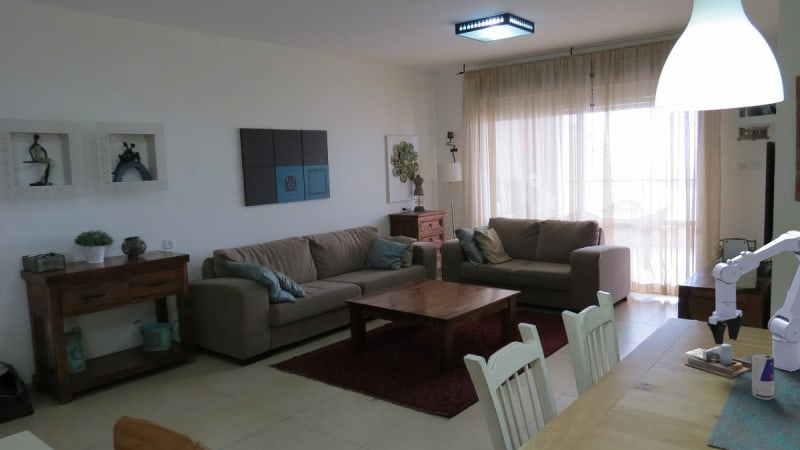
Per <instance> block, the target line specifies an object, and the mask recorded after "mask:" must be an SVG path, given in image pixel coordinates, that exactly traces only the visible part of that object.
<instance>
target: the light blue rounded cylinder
mask: <svg viewBox="0 0 800 450" xmlns="http://www.w3.org/2000/svg"><path fill="white" fill-rule="evenodd" d="M718 345H719V344H718ZM732 357H733V345H732V344H730V343H723V344H722V345H719V364H721V365H725V366H728V367H729V366H732Z"/></svg>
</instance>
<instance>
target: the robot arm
mask: <svg viewBox="0 0 800 450" xmlns="http://www.w3.org/2000/svg"><path fill="white" fill-rule="evenodd" d="M782 252H792V253H793V254H794V255H795V257H796V258H797V259H798V262H800V231H799V230H795V229H794V230H793V229H792V230H789V231H787V232H786V233H782V234H780V236H779V237H777V238H776V239H774V240H773V241H771V242H769V243H767V244H765V245H764V246H762V247H760V248H758V249H757V250H755V251H753V252H752V251H748V250H747V251H741V252H740V253H739V255H737V256H735V257H733V258H732V259H727V260H726V262H719V263H717V264H716V265H715V266H714V267H713V268H712V271H711V275H712V277H713V278H714V280H715V311H712V316H709V317H708V321H706V322H707V323H706V324H707V326H708V327H709V329H710V331H711V335H712V336H713V337H712V338H713V341H714V344H715V345H722V344H724V338H725V337H724V336H725V331H726V329H727V334H728V339H729V340H733V341H737V338H738V336H739V332H740V329H741V327H742V325H743V324H744V322H745V318H744V317H743V311H742V310H739V309H737V283H736V282H738V281H739V279H740V277H741V276H743V275H745V274H747V273H749V272H751V271H753V270H755V269H757V268H759V266H760V263H761V262H763V261H764V260H766V259H767V260H768V259H769V258H771V257H773V256H775V255H778V254H781V253H782ZM723 322H725V323H726V324H723ZM767 329H768V330H769V331H770V333H771V336H772V348H771V349H772V353H771V354H772V356H773V358H774V368H776V369H779V370H784V371H787V372H792V371H793V372H795V371H797V370H800V263H799V265H798V268H797V270H796V273H795V275H794V277H793V279H792V283H791V286H790V288H789V290H788V293H787V295H786V299H785V301H784V303H783V305H782V307H781V308H780V309H778V310H776V311H775V313H774V314H773V316H772V317H771V318H770V319H769V320H768V323H767Z"/></svg>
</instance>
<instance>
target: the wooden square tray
mask: <svg viewBox="0 0 800 450" xmlns="http://www.w3.org/2000/svg"><path fill="white" fill-rule="evenodd" d="M684 364H685V366H687V367H690V368H694V369H696V370H697V369H698V370H701V371H704V372H708V373H711V374H714V375H716V376H717V375H718V376H721V377H724V378H728V379H730V378H734V377H737V376H738V375H742V374H745V373H746V372H749V371H752V361H747V360H744V359H740V358H736V357H733V356H732V366H729V367H728V366H725V365H721V364H719V357H716V358H713V359H710V360H707V361H705V360H702V359H698V358H695V357H691V356H688V358H687V362H686V363H684Z"/></svg>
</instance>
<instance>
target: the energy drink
mask: <svg viewBox="0 0 800 450" xmlns="http://www.w3.org/2000/svg"><path fill="white" fill-rule="evenodd" d="M751 362H752V370H751V395H752V396H753V397H754V398H756V399H759V400H763V401H770V400H772V399H774V398H775V367H774V358H773V356H772V355H771V354H769V353H764V352H759V353H758V352H757V353H753V355H752V357H751Z"/></svg>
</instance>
